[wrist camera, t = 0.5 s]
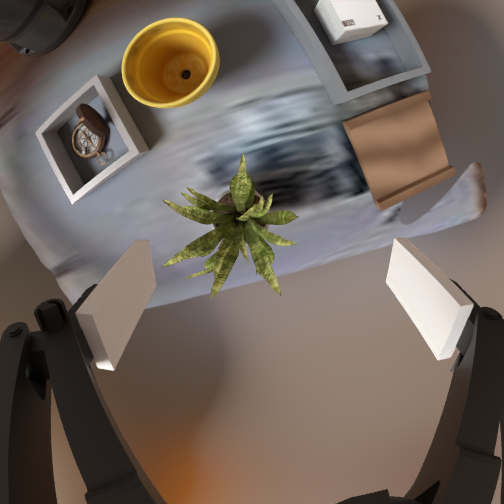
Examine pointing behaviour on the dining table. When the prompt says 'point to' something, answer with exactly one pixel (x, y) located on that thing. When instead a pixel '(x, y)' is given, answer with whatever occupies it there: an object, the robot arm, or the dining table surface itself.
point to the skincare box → (349, 19)
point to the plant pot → (170, 63)
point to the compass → (89, 133)
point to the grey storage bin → (324, 66)
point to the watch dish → (58, 152)
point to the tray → (399, 149)
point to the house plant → (234, 229)
